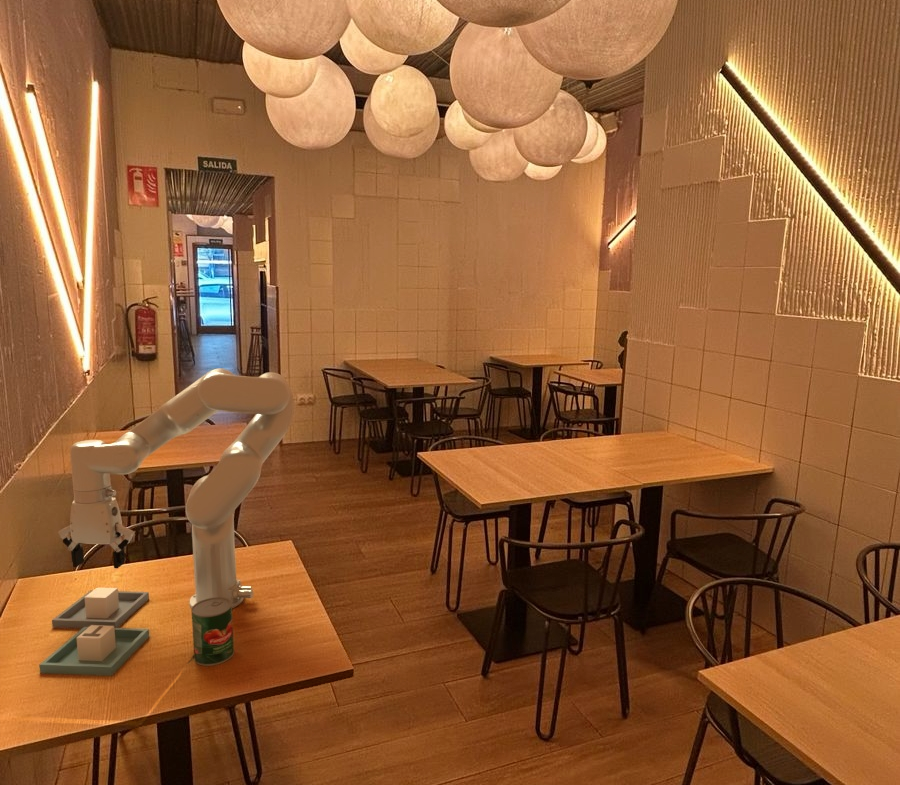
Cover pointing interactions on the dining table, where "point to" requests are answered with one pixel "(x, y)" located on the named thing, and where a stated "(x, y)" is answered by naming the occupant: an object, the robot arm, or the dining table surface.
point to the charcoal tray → (78, 620)
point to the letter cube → (96, 643)
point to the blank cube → (101, 602)
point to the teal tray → (68, 661)
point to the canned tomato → (212, 631)
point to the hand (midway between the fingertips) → (98, 565)
